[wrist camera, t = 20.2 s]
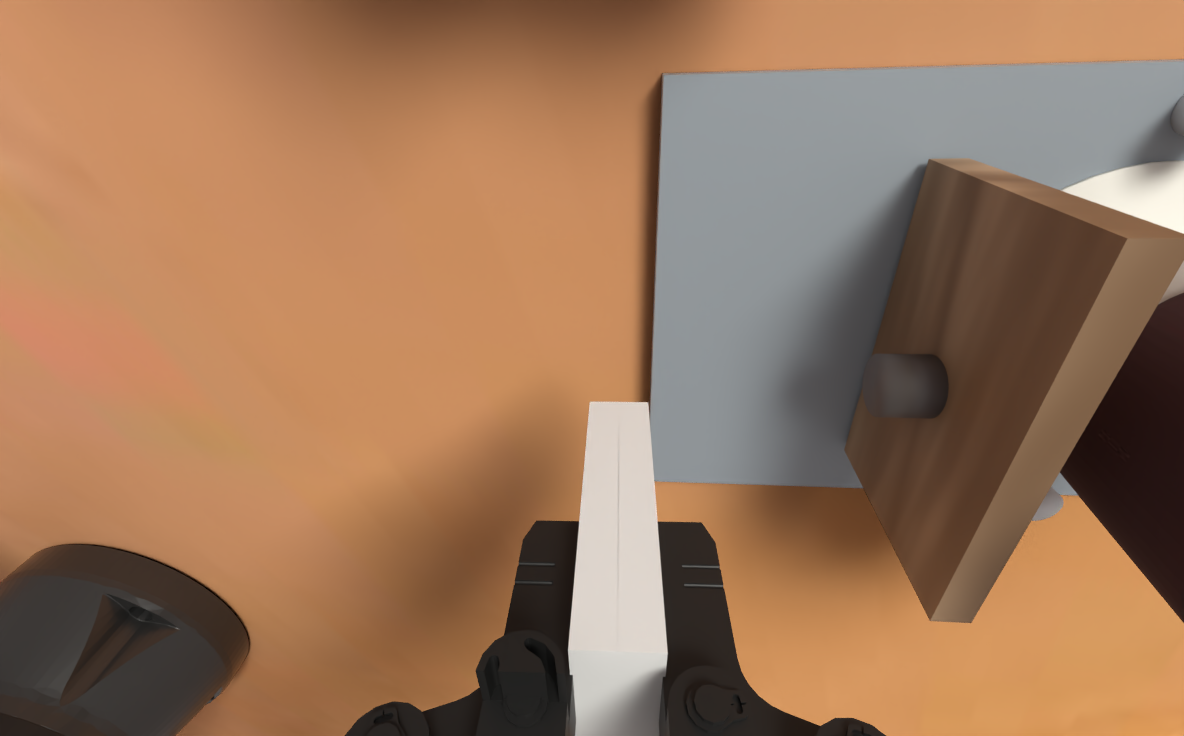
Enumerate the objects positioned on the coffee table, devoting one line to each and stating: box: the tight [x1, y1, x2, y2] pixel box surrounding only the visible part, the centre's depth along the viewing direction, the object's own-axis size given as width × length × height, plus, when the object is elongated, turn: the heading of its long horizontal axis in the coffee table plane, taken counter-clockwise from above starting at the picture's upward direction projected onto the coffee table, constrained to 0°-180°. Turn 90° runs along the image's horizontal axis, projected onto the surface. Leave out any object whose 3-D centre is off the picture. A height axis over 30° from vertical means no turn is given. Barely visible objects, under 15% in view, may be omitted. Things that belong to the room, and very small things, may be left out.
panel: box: [844, 158, 1184, 623], centre depth 16 cm, size 3×12×8 cm, turn 2°
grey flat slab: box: [649, 59, 1184, 521], centre depth 19 cm, size 24×17×3 cm
